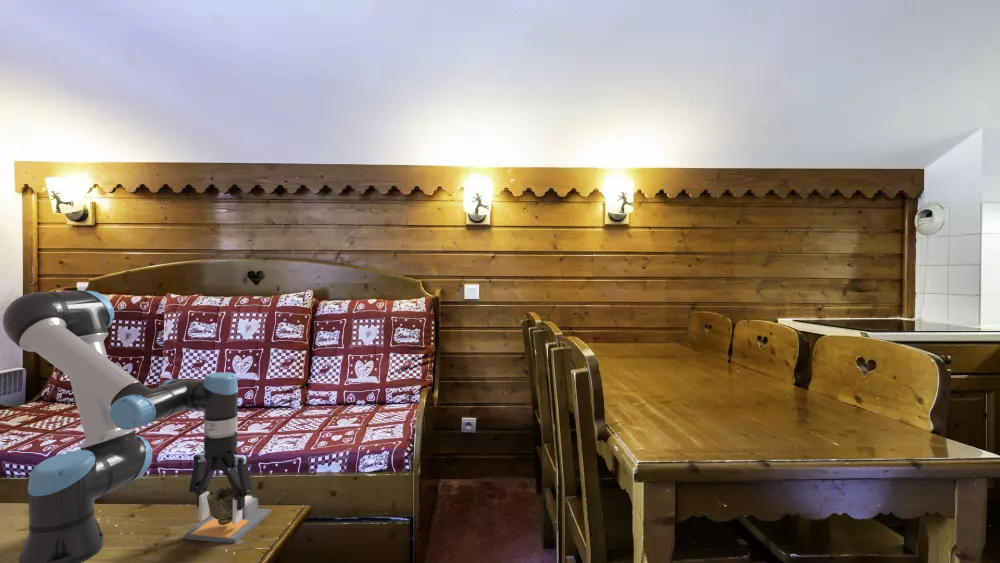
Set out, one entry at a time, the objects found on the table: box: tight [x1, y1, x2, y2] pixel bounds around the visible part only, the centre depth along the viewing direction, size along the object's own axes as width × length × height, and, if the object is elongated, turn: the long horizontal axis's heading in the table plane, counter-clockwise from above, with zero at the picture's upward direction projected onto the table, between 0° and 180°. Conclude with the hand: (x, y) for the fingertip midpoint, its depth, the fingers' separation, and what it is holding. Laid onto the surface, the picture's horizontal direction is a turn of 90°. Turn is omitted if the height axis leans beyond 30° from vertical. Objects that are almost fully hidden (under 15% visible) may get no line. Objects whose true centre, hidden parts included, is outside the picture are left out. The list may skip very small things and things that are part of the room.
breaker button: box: [245, 495, 253, 505], centre depth 133 cm, size 4×3×3 cm
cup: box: [207, 486, 236, 525], centre depth 125 cm, size 8×7×8 cm
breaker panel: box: [184, 496, 272, 544], centre depth 128 cm, size 14×15×4 cm
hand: (220, 519), depth 125 cm, fingers open, 9 cm apart
